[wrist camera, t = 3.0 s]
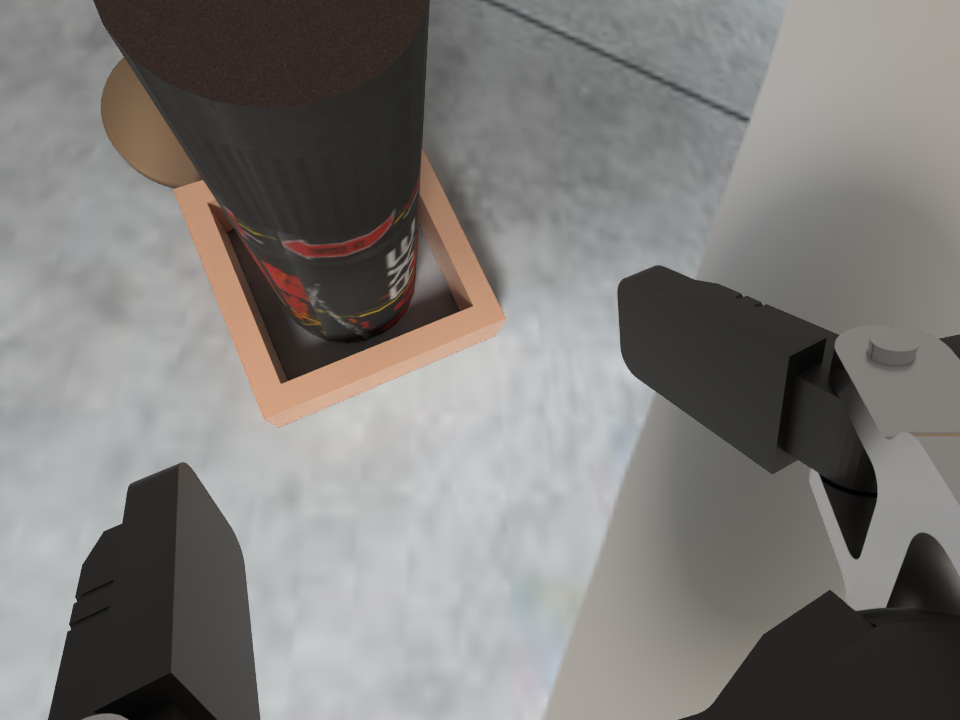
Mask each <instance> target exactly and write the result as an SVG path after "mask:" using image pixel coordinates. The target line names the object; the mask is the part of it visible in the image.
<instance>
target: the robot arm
mask: <svg viewBox="0 0 960 720" xmlns="http://www.w3.org/2000/svg"><path fill="white" fill-rule="evenodd" d="M618 311H619V328H620V345H621V353H622V356H623V359H624V361H625V363H626V365H627V367H628V369H629V370H630V371H631V373H632V374H633V375H634V376H635V377H637V378H638V379H639V380H641V381H642V382H643V383H645V384H646V385H648V386H649V387H650V388H652V389H653V390H655V391H656V392H657V393H659V394H660V395H662V396H663V397H665V398H666V399H667V400H669V401H670V402H672V403H673V404H674V405H676V406H677V407H679V408H680V409H681V410H683V411H684V412H686V413H687V414H688V415H690V416H691V417H693V418H694V419H695V420H697V421H698V422H700V423H701V424H702V425H704V426H705V427H707V428H708V429H709V430H711V431H712V432H714V433H715V434H716V435H718V436H719V437H721V438H722V439H723V440H725V441H726V442H728V443H729V444H731V445H732V446H733V447H735V448H736V449H738V450H739V451H740V452H742V453H743V454H744V455H746V456H747V457H749V458H750V459H752V460H753V461H754V462H756V463H757V464H759V465H760V466H761V467H763V468H764V469H766V470H767V471H768V472H770V473H771V474H774V473H776V472H777V471H779V470H781V469H783V468H784V467H786V466H788V465H790V464H791V463H793V462H795V461H797V460H800V461H801V462H802V463H804V464H806V465H807V466H809V467H810V473H809V481H810V485H811V488H812V491H813V493H814V496H815V499H816V501H817V504H818V507H819V510H820V513H821V515H822V518H823V521H824V524H825V527H826V529H827V532H828V535H829V538H830V540H831V543H832V546H833V548H834V551H835V554H836V557H837V560H838V562H839V565H840V568H841V571H842V574H843V578H844V583H845V588H846V603H845V602H844V601H843V600H842V599H840V598H839V597H838V596H837V595H836V594H834V593H833V592H832V591H831V590H829V591H828V592H826V593H825V594H823V595H822V596H820V597H819V598H817V599H816V600H814V601H813V602H811V603H810V604H808V605H807V606H805V607H804V608H802V609H801V610H799V611H798V612H796V613H795V614H793V615H792V616H790V617H789V618H787V619H786V620H785V621H783V622H781V623H780V624H779V625H777V626H775V627H774V628H772V629H771V630H769V631H768V632H767V633H765V634H763V636H762V637H761V638H760V640H759V641H758V642H757V644H756V645H755V647H754V648H753V649H752V651H751V652H750V653H749V655H748V656H747V658H746V659H745V660H744V662H743V663H742V664H741V666H740V667H739V669H738V670H737V671H736V673H735V674H734V675H733V677H732V678H731V680H730V681H729V682H728V684H727V685H726V686H725V688H724V689H723V690H722V692H721V693H720V695H719V696H718V697H717V699H716V700H715V702H714V703H713V704H712V705H711V706H710V707H709V708H708V709H706V710H705V711H703V712H701V713H699V714H696V715H692V716H689V717H686V718H682V719H679V720H960V335H955V336H950V337H946V338H940V339H938V338H936V337H933V336H932V335H930V334H927V333H924V332H922V331H918V330H915V329H911V328H907V327H901V326H894V325H867V326H860V327H856V328H853V329H849V330H847V331H845V332H843V333H842V334H841V335H838V334H836V333H833V332H831V331H828V330H826V329H824V328H821V327H819V326H816V325H814V324H812V323H810V322H807V321H805V320H802V319H800V318H798V317H795V316H793V315H791V314H788V313H786V312H783V311H781V310H779V309H776V308H774V307H772V306H769V305H767V304H766V305H764V306H763V305H762V304H761V302H760V301H757V300H755V299H753V298H750V297H748V296H745V297H743V296H742V294H741V293H738V292H736V291H734V290H732V289H729V288H727V287H724V286H722V285H720V284H716V283H710V282H704V281H699V280H694V279H691V278H689V277H687V276H684V275H682V274H680V273H677V272H675V271H673V270H671V269H668V268H666V267H664V266H659V265H657V266H653V267H651V268H649V269H646V270H644V271H641V272H639V273H636V274H634V275H632V276H629V277H627V278H624V279H623V280H622V281H621V282H620V283H619V286H618ZM75 597H76V599H77V602H76V603H74V605H73V610H72V614H71V619H70V623H69V625H70V627H71V630H70V631H68V632H67V637H66V641H65V646H64V650H63V655H62V659H61V664H60V668H59V673H58V677H57V682H56V686H55V691H54V695H53V700H52V704H51V709H50V713H49V718H48V720H260V713H259V703H258V693H257V683H256V673H255V663H254V653H253V643H252V633H251V623H250V613H249V603H248V593H247V584H246V574H245V564H244V559H243V555H242V551H241V548H240V545H239V542H238V540H237V538H236V535H235V533H234V531H233V530H232V528H231V526H230V525H229V523H228V522H227V520H226V519H225V517H224V516H223V514H222V513H221V511H220V510H219V508H218V507H217V505H216V504H215V502H214V501H213V499H212V498H211V496H210V495H209V493H208V492H207V490H206V489H205V487H204V486H203V484H202V483H201V481H200V480H199V478H198V477H197V475H196V474H195V472H194V471H193V470H192V468H191V467H190V466H189V465H188V464H186V463H184V462H182V463H179V464H177V465H174V466H172V467H170V468H167V469H165V470H162V471H160V472H157V473H155V474H153V475H150V476H148V477H145V478H143V479H140V480H138V481H136V482H133V483H131V484H130V485H129V487H128V491H127V497H126V504H125V510H124V517H123V523H122V524H120V525H118V526H116V527H113V528H111V529H109V530H106V531H104V532H103V534H102V535H101V537H100V538H99V540H98V542H97V543H96V545H95V546H94V548H93V549H92V551H91V552H90V554H89V556H88V557H87V559H86V560H85V562H84V563H83V565H82V569H81V574H80V578H79V583H78V587H77V592H76V596H75Z"/></svg>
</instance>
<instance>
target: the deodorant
mask: <svg viewBox="0 0 960 720" xmlns="http://www.w3.org/2000/svg"><path fill="white" fill-rule="evenodd" d="M93 1H94V3H95V6H96V8H97V10H98V13H99V15H100V18H101V20H102V23H103V25H104V26H105V28H106V29H107V31H108V33H109V34H110V36H111V37H112V39H113V40H114V42H115V44H116V45H117V47H118V48H119V50H120V51H121V53H122V54H123V56H124V58H125V59H126V61H127V62H128V64H129V65H130V67H131V68H132V70H133V72H134V73H135V75H136V76H137V78H138V79H139V81H140V82H141V84H142V86H143V87H144V89H145V90H146V92H147V93H148V95H149V96H150V98H151V100H152V101H153V103H154V104H155V106H156V107H157V109H158V111H159V112H160V114H161V115H162V117H163V118H164V120H165V121H166V123H167V125H168V126H169V128H170V129H171V131H172V132H173V134H174V135H175V137H176V139H177V140H178V142H179V143H180V145H181V146H182V148H183V149H184V151H185V153H186V154H187V156H188V157H189V159H190V160H191V162H192V163H193V165H194V167H195V168H196V170H197V171H198V173H199V174H200V176H201V177H202V179H203V181H204V182H205V184H206V185H207V187H208V188H209V190H210V192H211V193H212V195H213V196H214V198H215V199H216V201H217V202H218V204H219V206H220V207H221V209H222V210H223V212H224V213H225V215H226V216H227V218H228V220H229V221H230V223H231V224H232V226H233V227H234V229H235V230H236V232H237V234H238V235H239V237H240V238H241V240H242V241H243V243H244V244H245V246H246V248H247V249H248V251H249V252H250V254H251V255H252V257H253V258H254V260H255V262H256V263H257V265H258V266H259V268H260V269H261V271H262V273H263V274H264V276H265V277H266V279H267V280H268V282H269V283H270V285H271V287H272V288H273V290H274V291H275V293H276V294H277V296H278V297H279V299H280V301H281V302H282V304H283V305H284V307H285V308H286V310H287V311H288V312H289V314H290V315H291V316H292V317H293V319H294V320H295V321H296V322H297V324H299V325H300V326H301V327H303V328H304V329H306V330H307V331H308V332H310V333H311V334H313V335H315V336H318V337H321V338H323V339H326V340H329V341H336V342H345V343H349V342H357V341H364V340H368V339H370V338H372V337H375V336H377V335H380V334H382V333H384V332H385V331H386V330H388V329H389V328H390V327H392V326H393V325H395V324H396V323H397V322H398V320H399V319H400V318H401V317H402V315H403V314H404V313H405V312H406V310H407V308H408V306H409V304H410V301H411V299H412V296H413V292H414V284H415V271H416V252H417V233H418V214H419V194H420V175H421V156H422V137H423V117H424V98H425V79H426V60H427V41H428V21H429V2H430V0H93Z"/></svg>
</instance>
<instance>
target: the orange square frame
mask: <svg viewBox="0 0 960 720" xmlns="http://www.w3.org/2000/svg"><path fill="white" fill-rule="evenodd" d="M173 191H174V194H175V196H176V199H177V201H178V204H179V206H180V209H181V211H182V214H183V216H184V219H185V221H186V224H187V226H188V229H189V231H190V234H191V236H192V239H193V242H194V244H195V247H196V249H197V252H198V254H199V257H200V259H201V262H202V264H203V267H204V269H205V272H206V274H207V277H208V279H209V282H210V284H211V287H212V289H213V292H214V294H215V297H216V300H217V302H218V305H219V307H220V310H221V312H222V315H223V317H224V320H225V322H226V325H227V327H228V330H229V332H230V335H231V337H232V340H233V342H234V345H235V347H236V350H237V352H238V355H239V358H240V360H241V363H242V365H243V368H244V370H245V373H246V375H247V378H248V380H249V383H250V385H251V388H252V390H253V393H254V395H255V398H256V400H257V403H258V405H259V408H260V410H261V413H262V416H263V418H264V420H266V421H268V422H270V423H272V424H274V425H276V426H277V427H281V426H283V425H286V424H288V423H291V422H293V421H295V420H298V419H300V418H302V417H305V416H307V415H309V414H312V413H314V412H317V411H319V410H321V409H324V408H326V407H328V406H331V405H333V404H335V403H338V402H340V401H343V400H345V399H347V398H350V397H352V396H354V395H357V394H359V393H361V392H364V391H366V390H369V389H371V388H373V387H376V386H378V385H380V384H383V383H385V382H387V381H390V380H392V379H395V378H397V377H399V376H402V375H404V374H406V373H409V372H411V371H413V370H416V369H418V368H421V367H423V366H425V365H428V364H430V363H432V362H435V361H437V360H439V359H442V358H444V357H447V356H449V355H451V354H454V353H456V352H458V351H461V350H463V349H465V348H468V347H470V346H473V345H475V344H477V343H480V342H482V341H484V340H487V339H489V338H491V337H494V336H496V335H497V333H498V331H499V330H500V328H501V326H502V324H503V323H504V321H505V319H506V318H505V316H504V314H503V312H502V309H501V307H500V305H499V303H498V301H497V299H496V297H495V295H494V293H493V291H492V289H491V287H490V285H489V283H488V281H487V279H486V277H485V275H484V273H483V271H482V269H481V267H480V264H479V262H478V260H477V258H476V256H475V254H474V252H473V250H472V248H471V246H470V244H469V242H468V240H467V238H466V236H465V234H464V232H463V230H462V228H461V226H460V224H459V221H458V219H457V217H456V215H455V213H454V211H453V209H452V207H451V205H450V203H449V201H448V199H447V197H446V195H445V193H444V191H443V189H442V187H441V185H440V183H439V181H438V179H437V176H436V174H435V172H434V170H433V168H432V166H431V164H430V162H429V160H428V158H427V156H426V154H425V152H424V150H423V148H422V156H421V175H420V194H419V214H418V223H419V225H420V227H421V229H422V231H423V233H424V236H425V238H426V240H427V242H428V244H429V246H430V248H431V250H432V252H433V254H434V257H435V259H436V261H437V263H438V265H439V267H440V269H441V271H442V273H443V276H444V278H445V280H446V282H447V284H448V286H449V288H450V290H451V292H452V295H453V297H454V299H455V301H456V303H457V305H458V307H459V309H460V312H457V313H455V314H452V315H450V316H448V317H445V318H443V319H440V320H438V321H435V322H433V323H430V324H428V325H425V326H423V327H420V328H418V329H415V330H413V331H411V332H408V333H406V334H403V335H401V336H398V337H396V338H393V339H391V340H388V341H386V342H383V343H381V344H378V345H376V346H374V347H371V348H369V349H366V350H364V351H361V352H359V353H356V354H354V355H351V356H349V357H346V358H344V359H341V360H339V361H337V362H334V363H332V364H329V365H327V366H324V367H322V368H319V369H317V370H314V371H312V372H309V373H307V374H305V375H302V376H300V377H297V378H295V379H292V380H290V381H288V380H287V378H286V376H285V373H284V371H283V368H282V366H281V363H280V361H279V358H278V356H277V354H276V351H275V349H274V346H273V344H272V341H271V339H270V336H269V334H268V332H267V329H266V327H265V324H264V322H263V319H262V317H261V314H260V312H259V310H258V307H257V305H256V302H255V300H254V297H253V295H252V292H251V290H250V288H249V285H248V283H247V280H246V278H245V275H244V273H243V270H242V268H241V266H240V263H239V261H238V258H237V256H236V253H235V251H234V248H233V246H232V244H231V241H230V239H229V236H228V234H227V231H230V230H233V229H234V227H233V226H232V224H231V223H230V221H229V220H228V218H227V216H226V215H225V213H224V212H223V210H222V209H221V207H220V206H219V204H218V202H217V201H216V199H215V198H214V196H213V195H212V193H211V192H210V190H209V188H208V187H207V185H206V184H205V182H204V181H203V180H201V181H198V182H194V183H191V184H188V185H185V186H182V187H178V188H175V189H173Z"/></svg>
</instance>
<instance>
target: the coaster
mask: <svg viewBox="0 0 960 720" xmlns="http://www.w3.org/2000/svg"><path fill="white" fill-rule="evenodd" d="M101 114H102V121H103V124H104V128H105V131H106V133H107V135H108V137H109V139H110V141H111V142H112V144H113V145H114V147H115V148H116V150H117V151H118V152H119V153H120V154H121V156H122V157H123V158H124V159H125V160H126V161H127V162H128V163H129V164H130V166H132V167H133V168H134V169H135V170H137V171H138V172H139V173H141V174H142V175H144V176H145V177H147V178H149V179H151V180H153V181H155V182H157V183H159V184H162V185H165V186H168V187H171V188H178V187H182V186H185V185H188V184H191V183H194V182H198V181H201V180H203V179H202V177H201V176H200V174H199V173H198V171H197V170H196V168H195V167H194V165H193V163H192V162H191V160H190V159H189V157H188V156H187V154H186V153H185V151H184V149H183V148H182V146H181V145H180V143H179V142H178V140H177V139H176V137H175V135H174V134H173V132H172V131H171V129H170V128H169V126H168V125H167V123H166V121H165V120H164V118H163V117H162V115H161V114H160V112H159V111H158V109H157V107H156V106H155V104H154V103H153V101H152V100H151V98H150V96H149V95H148V93H147V92H146V90H145V89H144V87H143V86H142V84H141V82H140V81H139V79H138V78H137V76H136V75H135V73H134V72H133V70H132V68H131V67H130V65H129V64H128V62H127V61H126V59H125V58H123V59H122V60H121V61H120V62H119V63H118V64H117V65H116V67H115V68H114V69H113V71H112V72H111V74H110V76H109V78H108V79H107V82H106V84H105V87H104V90H103V95H102V99H101Z"/></svg>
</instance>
